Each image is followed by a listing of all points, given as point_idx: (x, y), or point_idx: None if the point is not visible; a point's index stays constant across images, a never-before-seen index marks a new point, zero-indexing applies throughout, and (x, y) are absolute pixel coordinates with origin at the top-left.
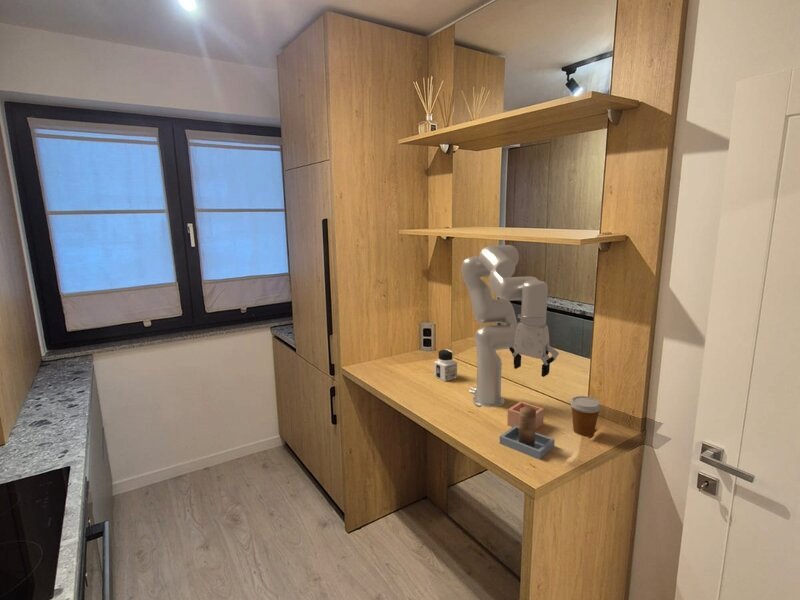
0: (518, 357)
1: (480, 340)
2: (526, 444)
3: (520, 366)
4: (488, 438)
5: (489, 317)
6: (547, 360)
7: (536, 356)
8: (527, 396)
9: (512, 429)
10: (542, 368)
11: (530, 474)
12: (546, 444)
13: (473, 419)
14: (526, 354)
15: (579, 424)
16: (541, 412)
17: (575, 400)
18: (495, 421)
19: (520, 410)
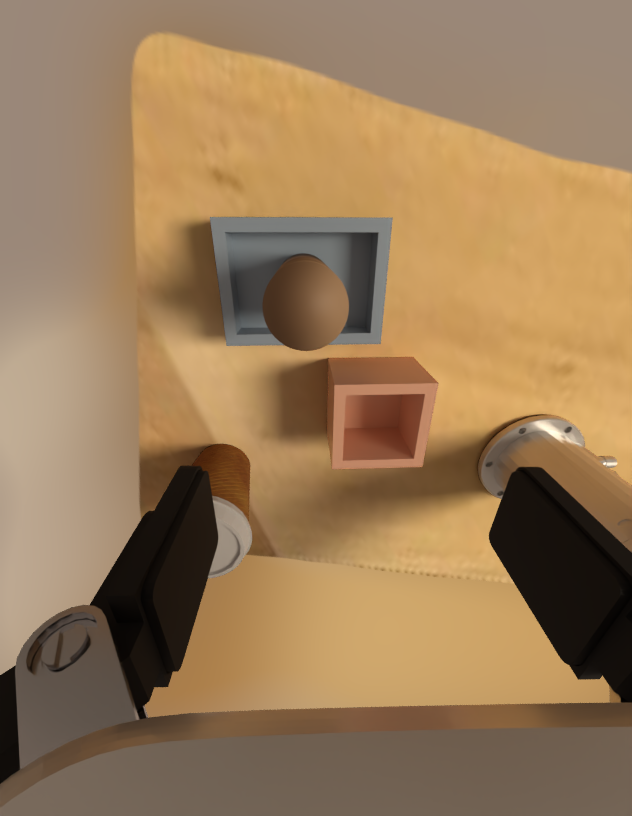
0: (594, 618)
1: None
2: (290, 257)
3: (489, 535)
4: (439, 244)
5: None
6: (15, 728)
7: (134, 800)
8: (437, 543)
9: (375, 308)
10: (157, 538)
11: (193, 105)
12: (225, 291)
13: (537, 330)
14: (503, 761)
15: (211, 465)
16: (331, 449)
17: (230, 537)
18: (463, 368)
19: (335, 279)
